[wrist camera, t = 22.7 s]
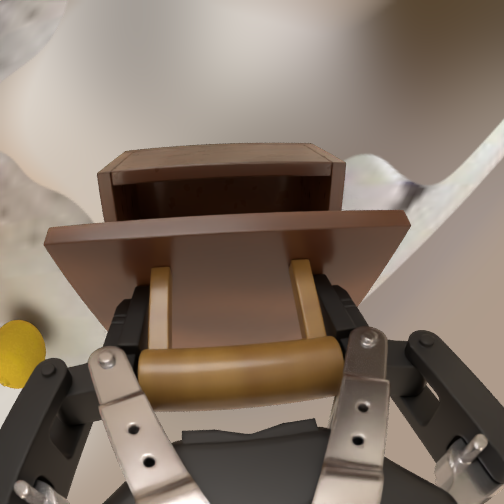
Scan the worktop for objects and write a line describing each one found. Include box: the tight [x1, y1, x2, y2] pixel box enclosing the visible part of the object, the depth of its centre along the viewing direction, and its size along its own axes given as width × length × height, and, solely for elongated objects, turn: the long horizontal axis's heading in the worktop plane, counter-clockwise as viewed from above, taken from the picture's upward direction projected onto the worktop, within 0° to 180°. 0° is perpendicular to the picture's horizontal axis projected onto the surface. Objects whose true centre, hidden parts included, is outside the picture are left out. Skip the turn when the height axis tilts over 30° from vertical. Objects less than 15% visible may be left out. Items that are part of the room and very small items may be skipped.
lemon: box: [0, 320, 46, 389], centre depth 23 cm, size 6×6×8 cm
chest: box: [97, 143, 346, 222], centre depth 21 cm, size 13×13×6 cm
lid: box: [44, 210, 411, 412], centre depth 14 cm, size 13×13×6 cm
